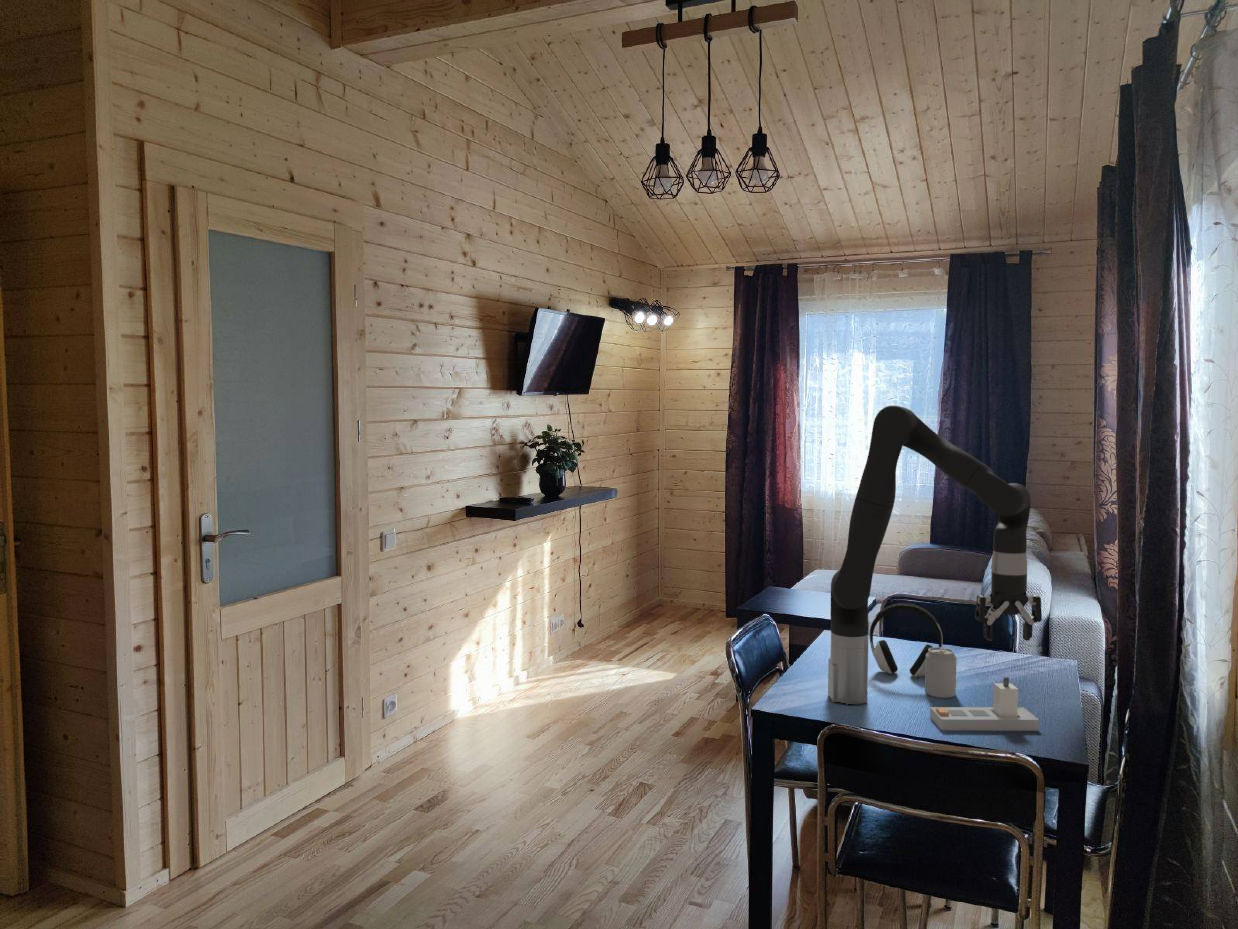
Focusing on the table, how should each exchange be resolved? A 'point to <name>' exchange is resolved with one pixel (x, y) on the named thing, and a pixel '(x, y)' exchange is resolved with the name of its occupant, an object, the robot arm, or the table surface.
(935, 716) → the power strip
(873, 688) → the table surface
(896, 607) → the headphones
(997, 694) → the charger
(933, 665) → the can
